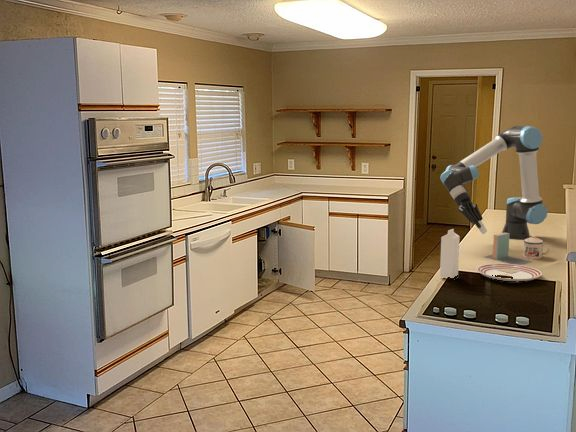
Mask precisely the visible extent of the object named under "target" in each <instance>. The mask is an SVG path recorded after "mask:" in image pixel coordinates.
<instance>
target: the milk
mask: <svg viewBox="0 0 576 432" xmlns="http://www.w3.org/2000/svg"><path fill="white" fill-rule="evenodd" d="M454 229H455V228H451V229H449V230H447V233H446V234H445V235H443V236H441V239H440V261H439V262H440V263H439V264H440V265H439V267H440V268H439V278H440V277H450V278H454V277H455V276H457V275H458V276H459V264H460V263H459V261H460V259H459V257H460V239H461V238H460V235H459V234H457V233H456V232H455V230H454Z"/></svg>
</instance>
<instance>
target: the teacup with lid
mask: <svg viewBox="0 0 576 432" xmlns="http://www.w3.org/2000/svg"><path fill="white" fill-rule="evenodd" d="M543 247H545V248H546V249H547V251H546V252H545V253H543ZM549 251H550V247H549V245H546V244H544V241H543V240H542V239H540V238H538V237H537V235H534V234H533V235H531V236H529V238H527V239H523V255H522V256H523V257H524V259H525V258H526V259H532V260H539V259H542V258H543V256H545V255H547V254H549Z"/></svg>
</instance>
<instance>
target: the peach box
mask: <svg viewBox="0 0 576 432" xmlns="http://www.w3.org/2000/svg"><path fill="white" fill-rule="evenodd" d="M509 234H510V233H502V232H501V233H498V234H497V233H496V234H493V243H492V245H493V247H492V249H493V250H492V255H493V259H501V258H505V257H508V256H509V251H510V250H509V249H510V248H509V247H510V238H509ZM493 259H492V260H493Z"/></svg>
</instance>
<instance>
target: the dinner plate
mask: <svg viewBox="0 0 576 432" xmlns="http://www.w3.org/2000/svg"><path fill="white" fill-rule="evenodd" d="M503 270H511V271H515V272H511V273H510V272H507V271H503ZM476 271H477V272H478V273H479V274H480V275H482V276H484V277H487V278H489V279H491V278H492V279H491V280H494V279H497V280H503V281H516V282H515V283H520V282H519V281H525V282H529V281H533V280H536V279H538V278H540V277H541V276H542V275H543V273H542V270H539V269H537V268H534V267H531V266H526V265H523V264H522V265H515V264H509V263H489V264H488V263H487V264H486V263H485V264H483V265H482V264H481V265H479V266H477V267H476ZM499 274H508V275H510V276H512V277H513V279H511V278H501V277H495V275H496V276H497V275H499ZM492 275H493V276H492ZM497 280H496V281H497ZM503 281H502V282H503Z"/></svg>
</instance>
